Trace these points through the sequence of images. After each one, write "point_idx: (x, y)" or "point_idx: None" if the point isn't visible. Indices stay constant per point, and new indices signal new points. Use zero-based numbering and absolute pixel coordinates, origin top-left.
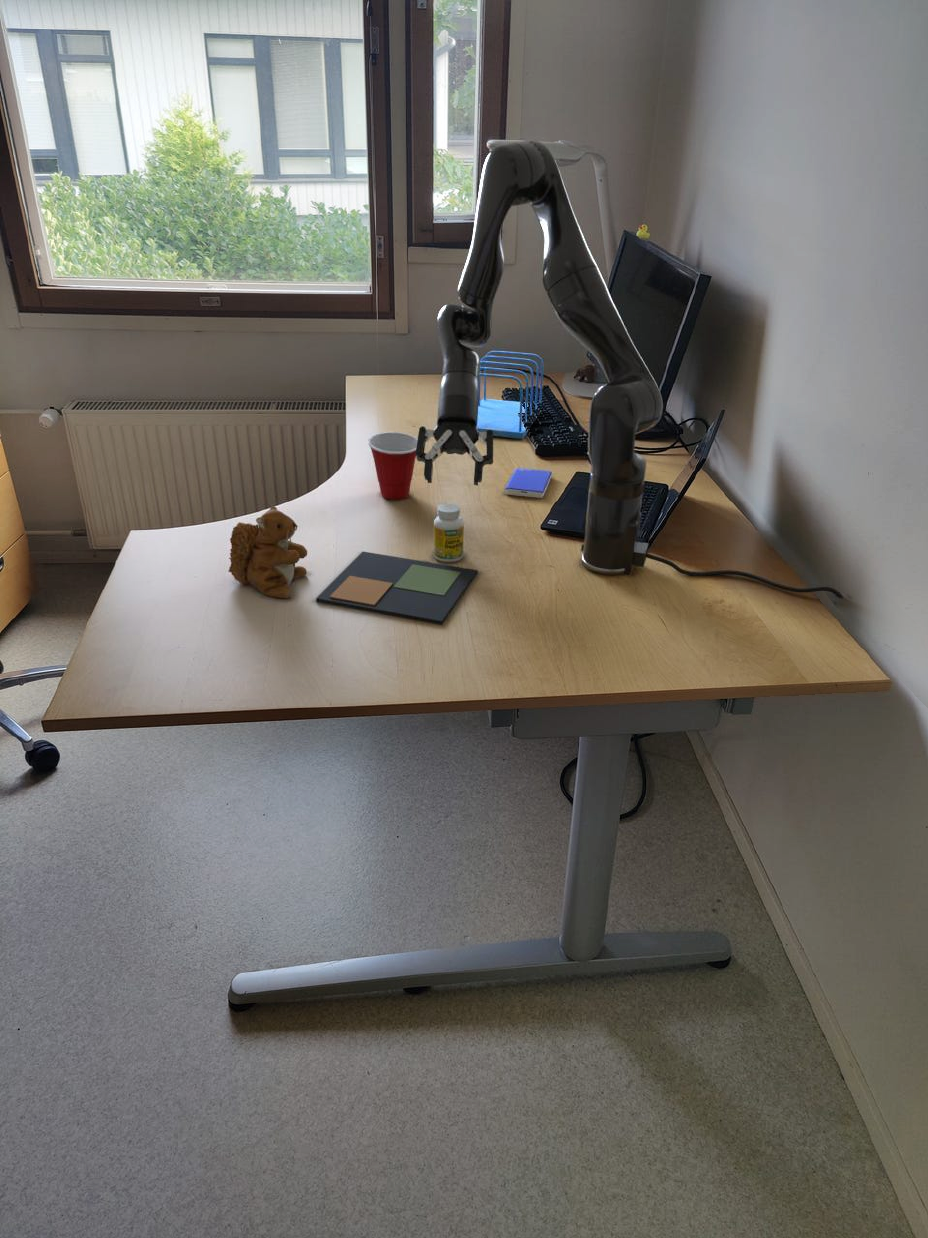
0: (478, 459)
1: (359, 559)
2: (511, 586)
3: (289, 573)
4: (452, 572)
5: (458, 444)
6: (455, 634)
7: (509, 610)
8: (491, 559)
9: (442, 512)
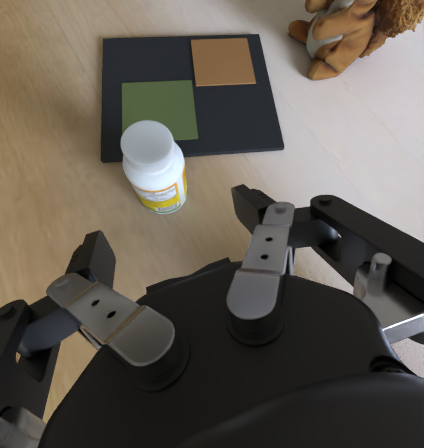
0: (69, 277)
1: (273, 125)
2: (43, 147)
3: (310, 32)
4: None
5: (174, 295)
6: (83, 32)
7: (32, 92)
8: (95, 212)
9: (152, 121)
